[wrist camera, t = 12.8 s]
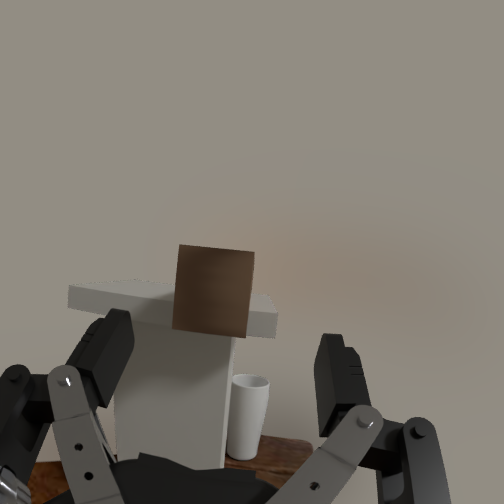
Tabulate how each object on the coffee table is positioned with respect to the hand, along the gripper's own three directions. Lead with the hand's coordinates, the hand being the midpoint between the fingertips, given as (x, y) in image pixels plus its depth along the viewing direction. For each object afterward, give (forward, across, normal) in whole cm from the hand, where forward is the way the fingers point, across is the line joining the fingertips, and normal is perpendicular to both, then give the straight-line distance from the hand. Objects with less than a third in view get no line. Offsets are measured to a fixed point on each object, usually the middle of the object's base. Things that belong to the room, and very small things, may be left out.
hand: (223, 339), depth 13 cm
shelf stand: (+2, -6, -36) cm, 37 cm away
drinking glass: (+17, +2, -46) cm, 49 cm away
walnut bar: (+12, -1, -8) cm, 14 cm away
